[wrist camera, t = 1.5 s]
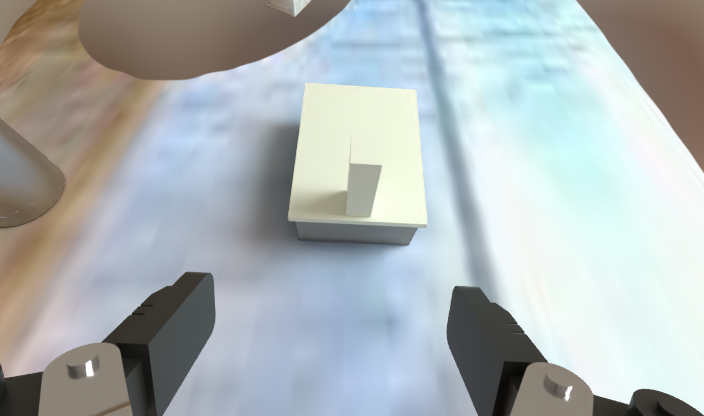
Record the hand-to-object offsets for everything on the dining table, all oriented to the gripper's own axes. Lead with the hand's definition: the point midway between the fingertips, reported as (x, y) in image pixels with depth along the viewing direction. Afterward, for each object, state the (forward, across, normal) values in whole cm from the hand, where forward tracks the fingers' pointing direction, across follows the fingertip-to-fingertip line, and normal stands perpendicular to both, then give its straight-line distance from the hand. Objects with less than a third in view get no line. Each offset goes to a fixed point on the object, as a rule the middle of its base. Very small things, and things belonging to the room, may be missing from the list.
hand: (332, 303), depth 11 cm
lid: (+30, -2, -1) cm, 31 cm away
